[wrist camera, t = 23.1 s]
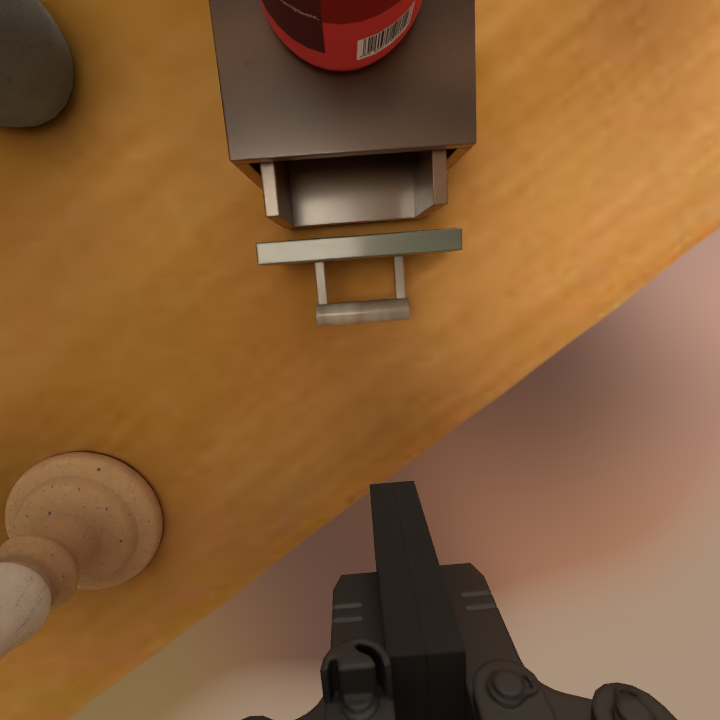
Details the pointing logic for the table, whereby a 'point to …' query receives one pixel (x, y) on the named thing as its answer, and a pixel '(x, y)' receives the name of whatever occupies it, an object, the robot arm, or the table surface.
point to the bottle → (32, 65)
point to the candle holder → (71, 537)
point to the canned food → (341, 29)
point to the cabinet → (345, 91)
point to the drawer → (357, 219)
